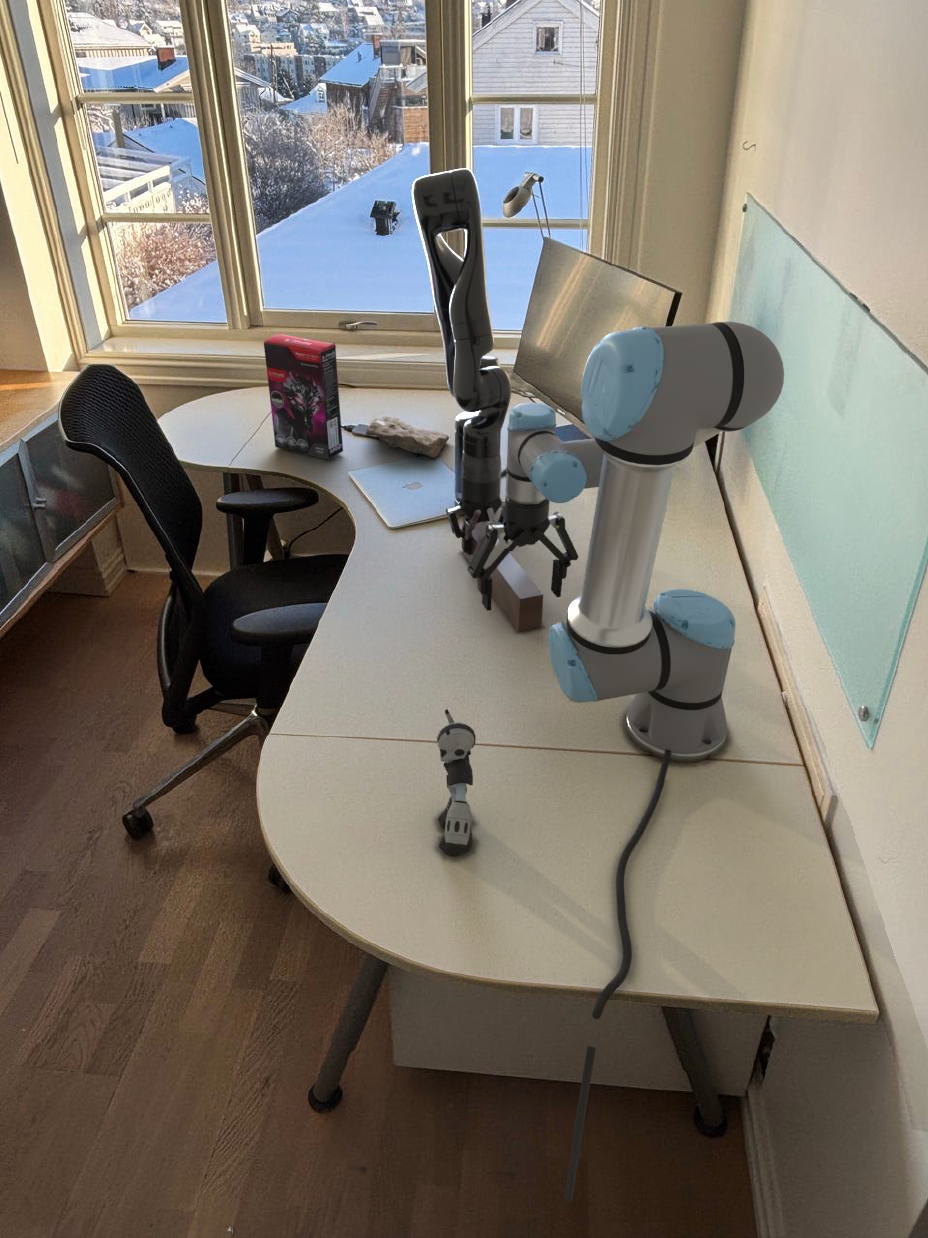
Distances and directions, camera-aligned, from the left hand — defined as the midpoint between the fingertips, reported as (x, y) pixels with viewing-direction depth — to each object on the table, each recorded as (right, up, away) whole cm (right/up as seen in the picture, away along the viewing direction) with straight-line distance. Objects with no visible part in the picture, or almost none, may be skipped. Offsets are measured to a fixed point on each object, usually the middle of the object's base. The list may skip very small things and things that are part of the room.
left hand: (479, 550), depth 185 cm
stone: (-18, +30, +48) cm, 60 cm away
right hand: (+7, -10, -17) cm, 22 cm away
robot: (-4, -43, -60) cm, 74 cm away
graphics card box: (-42, +28, +46) cm, 68 cm away
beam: (+4, -8, -7) cm, 11 cm away
